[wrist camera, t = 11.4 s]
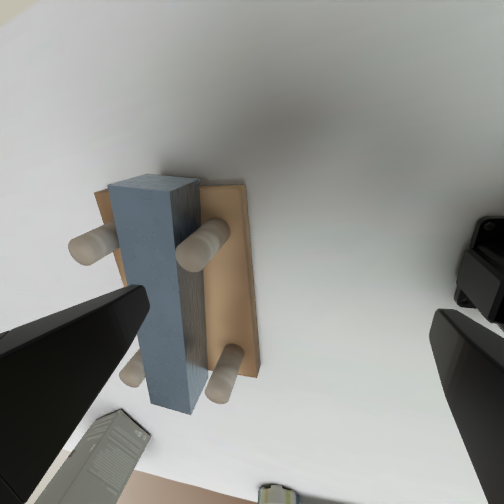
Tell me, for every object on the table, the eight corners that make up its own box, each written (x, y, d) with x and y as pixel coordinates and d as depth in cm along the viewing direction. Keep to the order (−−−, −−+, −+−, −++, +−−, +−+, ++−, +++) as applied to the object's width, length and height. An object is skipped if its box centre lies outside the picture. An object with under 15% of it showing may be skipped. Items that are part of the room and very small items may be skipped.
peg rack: (245, 184, 19) (215, 207, 14) (260, 365, 27) (244, 424, 21) (107, 188, 22) (40, 208, 17) (156, 350, 30) (119, 398, 24)
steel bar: (208, 377, 27) (191, 414, 24) (172, 368, 28) (150, 403, 24) (199, 178, 18) (169, 191, 15) (147, 173, 19) (107, 184, 15)
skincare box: (121, 407, 37) (-1, 577, 23) (156, 438, 38) (61, 617, 24) (92, 419, 41) (-28, 572, 27) (125, 448, 42) (27, 607, 28)
